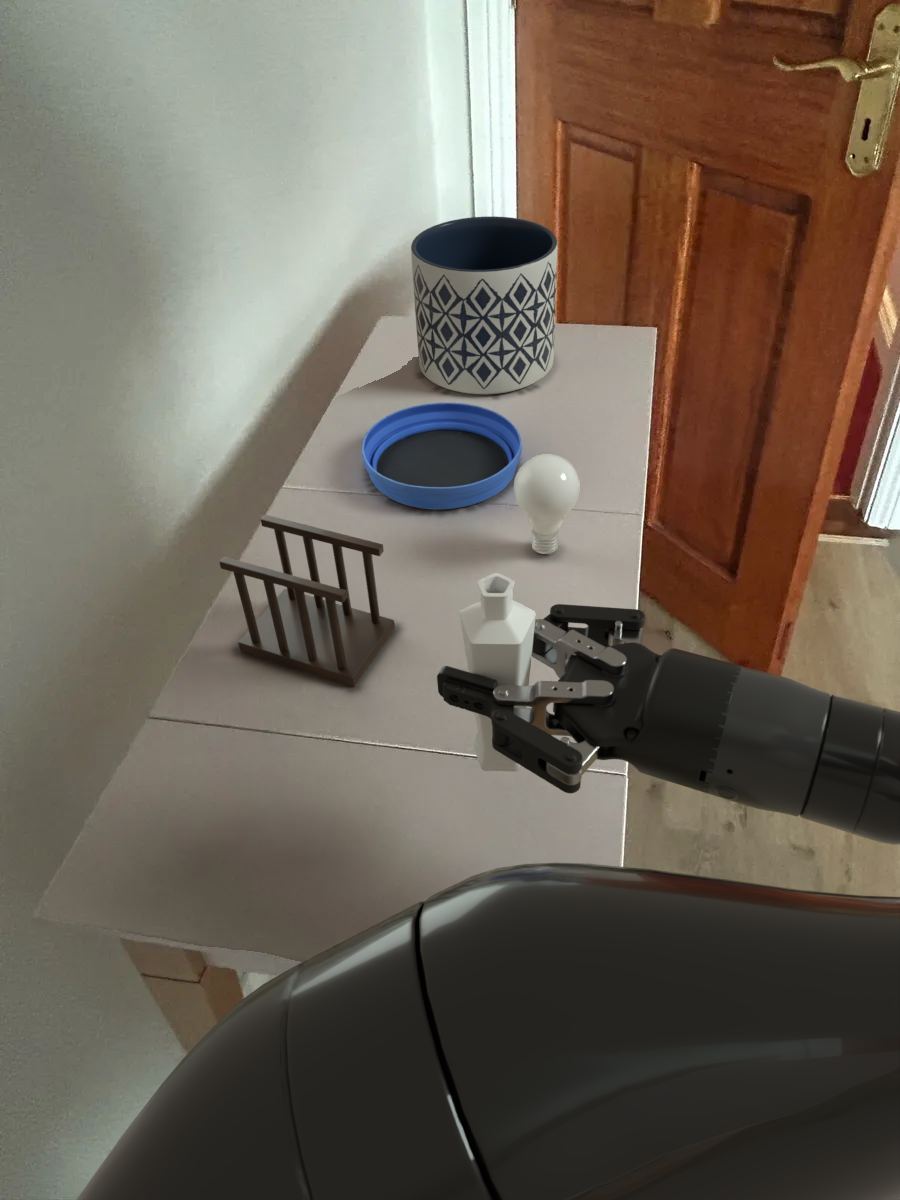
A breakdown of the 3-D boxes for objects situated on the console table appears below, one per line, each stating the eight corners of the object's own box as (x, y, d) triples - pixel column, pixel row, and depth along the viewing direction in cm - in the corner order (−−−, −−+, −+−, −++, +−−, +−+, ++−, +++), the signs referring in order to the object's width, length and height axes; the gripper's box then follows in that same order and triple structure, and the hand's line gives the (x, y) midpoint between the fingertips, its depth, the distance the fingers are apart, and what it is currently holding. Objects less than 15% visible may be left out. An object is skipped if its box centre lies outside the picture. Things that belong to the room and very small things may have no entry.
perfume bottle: (452, 756, 62) (438, 591, 52) (492, 717, 65) (486, 552, 55) (506, 790, 60) (501, 624, 50) (545, 749, 62) (549, 582, 52)
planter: (440, 408, 115) (433, 281, 104) (404, 347, 128) (394, 228, 117) (574, 383, 118) (581, 257, 107) (526, 325, 131) (527, 208, 121)
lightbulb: (541, 524, 96) (543, 433, 89) (588, 549, 93) (595, 457, 85) (500, 552, 93) (499, 461, 86) (548, 579, 89) (551, 486, 82)
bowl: (373, 525, 97) (369, 498, 95) (357, 437, 111) (354, 411, 108) (537, 502, 99) (538, 475, 97) (503, 419, 112) (503, 393, 110)
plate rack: (395, 628, 85) (385, 541, 78) (354, 687, 80) (339, 599, 73) (286, 597, 89) (267, 511, 82) (240, 651, 84) (215, 564, 77)
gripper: (766, 603, 54) (499, 540, 60) (712, 785, 44) (400, 689, 50) (745, 690, 59) (500, 624, 65) (692, 870, 49) (411, 774, 55)
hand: (458, 653), depth 58 cm, fingers closed on perfume bottle, 4 cm apart
